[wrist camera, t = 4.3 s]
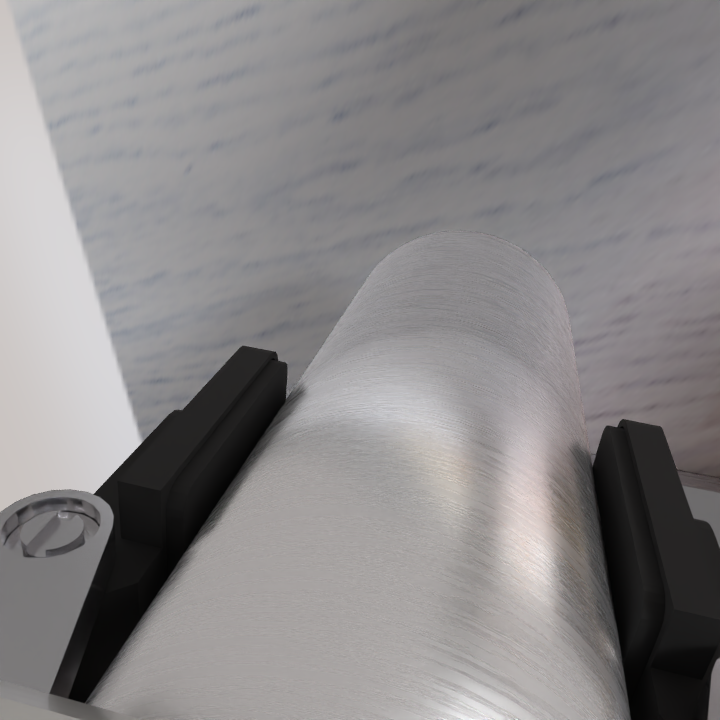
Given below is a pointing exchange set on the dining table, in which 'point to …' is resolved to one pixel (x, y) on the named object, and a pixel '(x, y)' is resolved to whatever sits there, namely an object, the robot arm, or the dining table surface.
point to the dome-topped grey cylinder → (402, 524)
